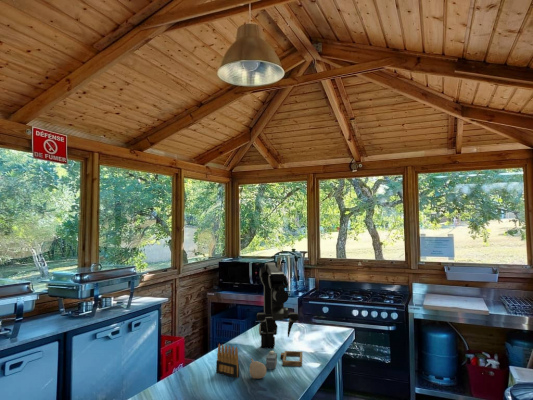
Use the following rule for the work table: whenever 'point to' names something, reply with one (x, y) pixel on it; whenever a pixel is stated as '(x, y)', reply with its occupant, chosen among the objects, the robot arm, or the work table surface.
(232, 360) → the ammunition clip
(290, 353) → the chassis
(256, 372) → the garlic bulb
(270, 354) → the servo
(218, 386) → the work table surface
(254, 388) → the work table surface
